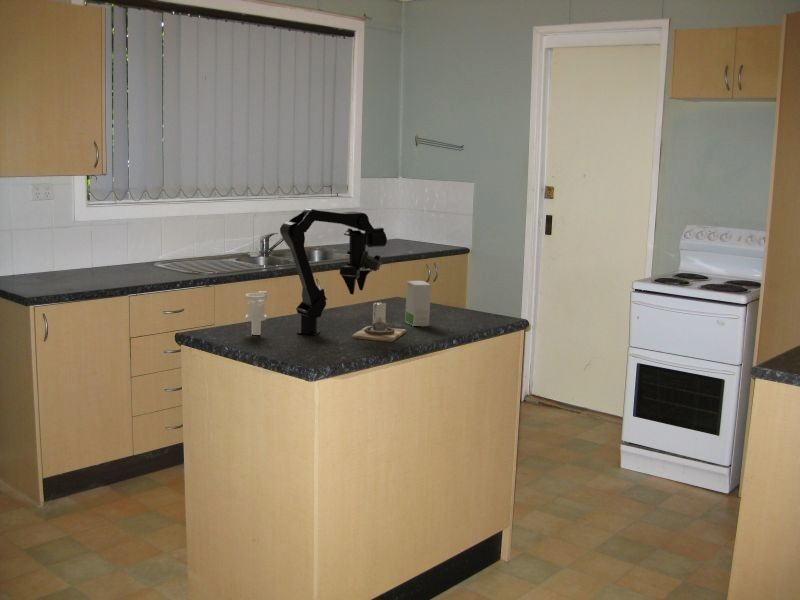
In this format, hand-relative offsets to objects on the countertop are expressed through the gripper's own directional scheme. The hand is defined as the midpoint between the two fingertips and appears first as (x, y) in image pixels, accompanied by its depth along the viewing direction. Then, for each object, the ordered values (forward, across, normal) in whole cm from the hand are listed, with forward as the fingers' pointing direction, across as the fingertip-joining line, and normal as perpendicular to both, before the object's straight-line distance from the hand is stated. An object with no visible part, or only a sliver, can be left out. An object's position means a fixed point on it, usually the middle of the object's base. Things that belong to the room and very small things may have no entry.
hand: (356, 292), depth 315 cm
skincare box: (+13, +16, -18) cm, 27 cm away
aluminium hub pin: (+12, -7, -11) cm, 17 cm away
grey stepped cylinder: (+13, -24, +27) cm, 38 cm away
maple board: (+13, -6, -11) cm, 18 cm away
